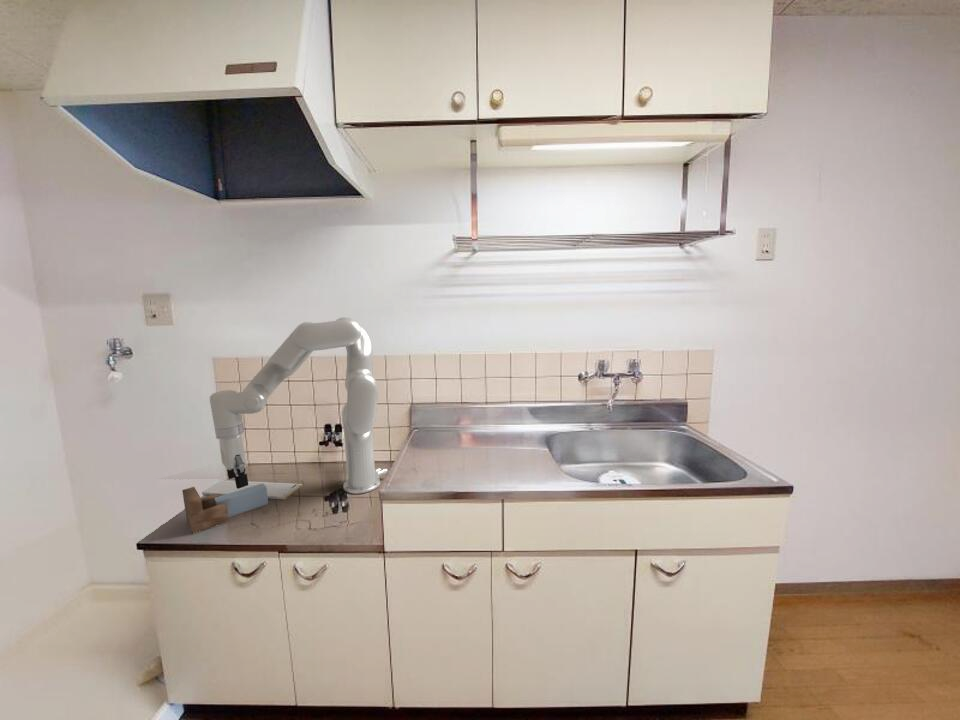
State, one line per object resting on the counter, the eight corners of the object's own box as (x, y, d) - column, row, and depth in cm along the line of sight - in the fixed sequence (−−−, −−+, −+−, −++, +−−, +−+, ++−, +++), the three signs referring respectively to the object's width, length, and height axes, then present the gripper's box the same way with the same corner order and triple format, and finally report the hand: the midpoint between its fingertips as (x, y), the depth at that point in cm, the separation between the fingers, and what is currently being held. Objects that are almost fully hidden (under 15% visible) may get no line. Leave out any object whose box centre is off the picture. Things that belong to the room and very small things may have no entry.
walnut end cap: (220, 509, 130) (216, 480, 129) (228, 521, 123) (224, 491, 121) (186, 520, 124) (182, 490, 123) (193, 534, 117) (188, 502, 115)
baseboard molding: (228, 480, 152) (202, 496, 140) (227, 473, 151) (201, 488, 140) (305, 484, 148) (285, 501, 136) (304, 477, 147) (284, 493, 136)
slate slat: (216, 515, 127) (213, 498, 126) (264, 499, 136) (263, 483, 135) (219, 520, 124) (216, 502, 123) (268, 504, 133) (266, 487, 132)
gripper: (209, 427, 129) (218, 477, 132) (222, 440, 116) (231, 495, 119) (235, 421, 134) (243, 470, 137) (251, 433, 121) (259, 486, 125)
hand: (238, 481), depth 128 cm, fingers open, 9 cm apart
